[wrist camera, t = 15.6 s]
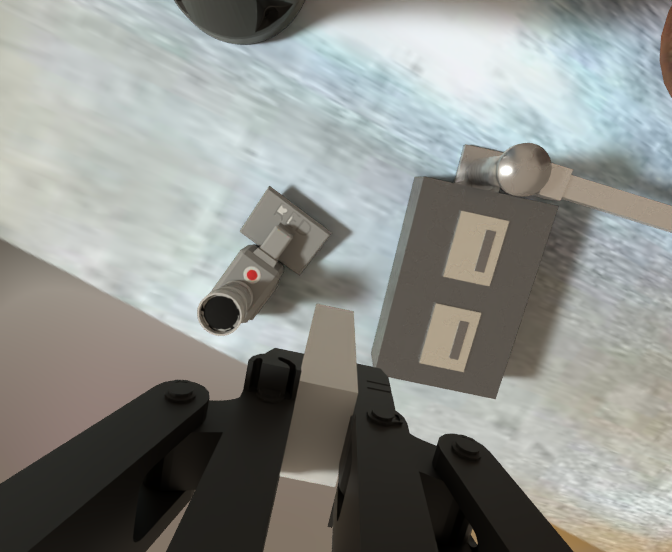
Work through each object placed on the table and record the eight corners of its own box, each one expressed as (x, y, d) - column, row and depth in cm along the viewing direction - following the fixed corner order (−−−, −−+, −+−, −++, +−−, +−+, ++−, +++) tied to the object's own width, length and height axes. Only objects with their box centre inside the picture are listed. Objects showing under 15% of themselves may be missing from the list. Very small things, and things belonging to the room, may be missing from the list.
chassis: (414, 176, 49) (424, 176, 43) (533, 202, 49) (560, 206, 43) (371, 352, 54) (374, 375, 48) (479, 375, 54) (496, 400, 48)
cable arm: (525, 195, 41) (538, 196, 38) (538, 161, 40) (552, 160, 37) (749, 264, 42) (778, 270, 39) (766, 232, 41) (796, 236, 38)
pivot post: (463, 145, 48) (505, 133, 36) (506, 154, 48) (563, 146, 36) (451, 189, 49) (487, 193, 37) (494, 198, 49) (544, 205, 37)
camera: (162, 314, 41) (251, 186, 38) (202, 285, 52) (272, 185, 50) (237, 366, 42) (329, 244, 39) (260, 326, 53) (332, 230, 51)
